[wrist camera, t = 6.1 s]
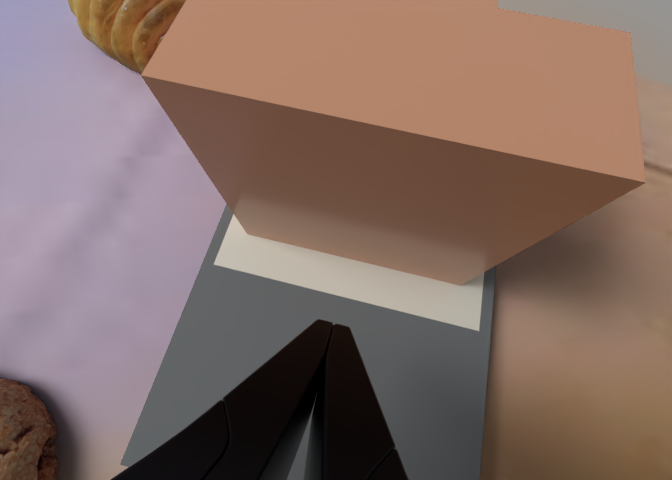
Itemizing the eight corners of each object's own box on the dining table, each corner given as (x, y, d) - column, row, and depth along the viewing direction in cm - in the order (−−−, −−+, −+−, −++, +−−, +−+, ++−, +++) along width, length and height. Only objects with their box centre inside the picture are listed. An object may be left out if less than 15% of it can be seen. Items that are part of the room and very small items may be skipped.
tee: (459, 285, 14) (645, 182, 6) (247, 234, 15) (140, 74, 7) (482, 85, 18) (611, -145, 10) (314, 52, 19) (302, -192, 11)
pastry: (254, 55, 20) (237, -11, 16) (165, 117, 18) (125, 59, 15) (164, -16, 22) (132, -88, 19) (77, 34, 20) (23, -35, 17)
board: (465, 559, 12) (472, 570, 11) (129, 459, 12) (120, 464, 12) (504, 89, 19) (510, 81, 19) (295, 47, 20) (294, 38, 19)
